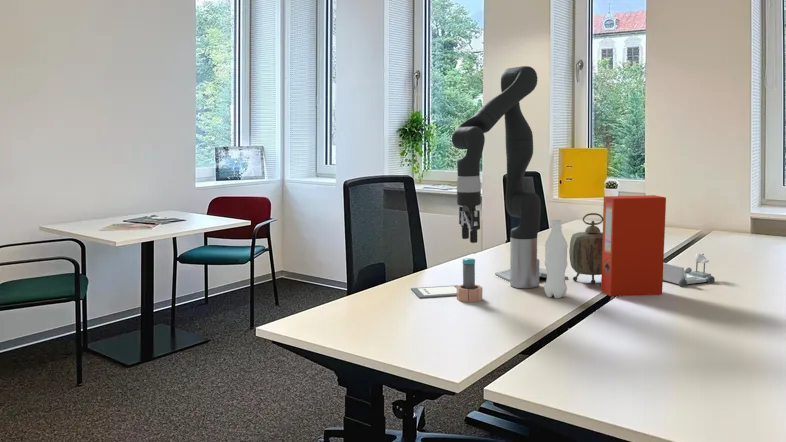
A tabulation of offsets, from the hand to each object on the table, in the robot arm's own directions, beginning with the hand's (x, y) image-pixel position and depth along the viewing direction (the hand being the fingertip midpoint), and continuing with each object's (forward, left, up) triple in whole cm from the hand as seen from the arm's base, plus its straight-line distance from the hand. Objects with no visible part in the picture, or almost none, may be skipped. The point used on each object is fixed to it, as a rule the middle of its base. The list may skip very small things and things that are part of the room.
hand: (469, 240), depth 201 cm
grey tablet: (+7, -11, -19) cm, 23 cm away
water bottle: (-28, +4, -19) cm, 34 cm away
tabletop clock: (-49, -11, -19) cm, 54 cm away
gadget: (-32, -25, -20) cm, 46 cm away
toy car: (-82, -4, -20) cm, 85 cm away
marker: (0, 0, -19) cm, 19 cm away
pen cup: (0, 0, -19) cm, 19 cm away
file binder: (-54, +6, -19) cm, 58 cm away
